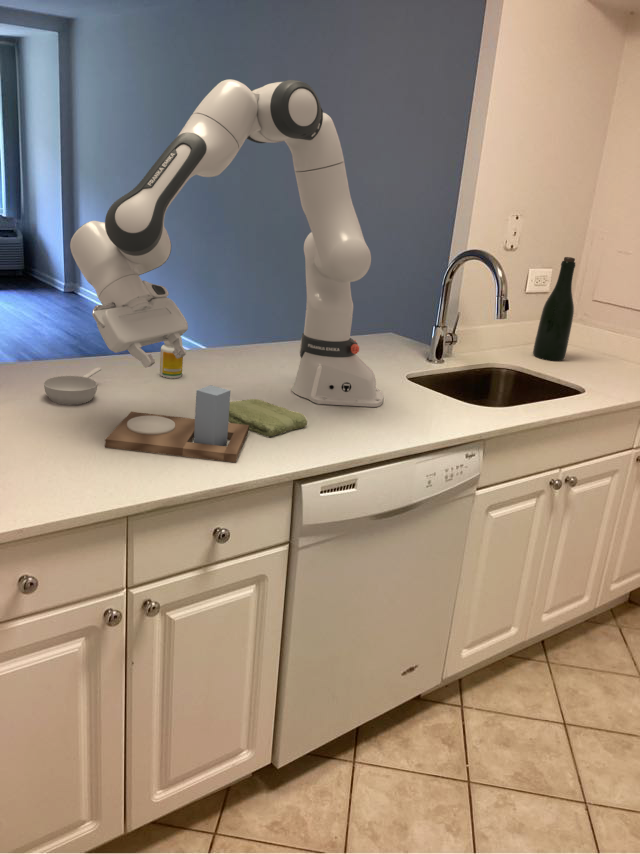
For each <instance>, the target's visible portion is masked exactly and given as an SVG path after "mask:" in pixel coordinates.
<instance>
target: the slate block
mask: <svg viewBox="0 0 640 854" xmlns="http://www.w3.org/2000/svg"><path fill="white" fill-rule="evenodd" d="M195 392H196V393H195V410H194V411H195V412H194V413H195V414H194V419H195V430H194V439H193V443H201V444H209V445H218V446H228V440H227V436H228V423H229V422H228V421H229V406H230V402H231V390H230V389H226V388H223V387H219V386H215V385H213V384H212V385H211V384H210V385H206V386H204V387H202V388H199V389H196V391H195Z"/></svg>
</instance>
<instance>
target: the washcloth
mask: <svg viewBox="0 0 640 854" xmlns="http://www.w3.org/2000/svg"><path fill="white" fill-rule="evenodd" d="M228 423H234V424H243V425H249V431H250V432H254V433H256V434H259V435H261V436H264V437H266V438H267V437H269V438H271V437H275V436H277V435H283V434H285V433H286V432H289V431H295V430H299V429H304V428H305V427H306V426H307V425H308V420H307V417H306V416H305V415H304V414H303V413H301V412H299V411H298V412H297V411H292V410H290V409H288V408H286V407H284V406H283V407H282V406H279V405H275V404H274V403H270V402H267V401H265V400H263V399H258V398H257V399H256V398H250V399H246V400H245V399H244V400H243V399H242V400H235V401H234V400H233V401H230V406H229V421H228Z"/></svg>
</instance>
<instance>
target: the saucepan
mask: <svg viewBox="0 0 640 854" xmlns="http://www.w3.org/2000/svg"><path fill="white" fill-rule="evenodd" d="M100 371H102V367H95V368H94V369H92V370H90V371H88V372H87V373H85V374H84V375H82V376H78V375H61V376H53V377H50V378H47V379H45V380H44V381H43V388H44V392H45V394H46V396H47V397H48V398H49V400H50V401H51V402H53V403H56V404H59V405H71V406H73V405H81V404H82V403H83V404H87V403H89V402H90V400H91V401H92V400H93V398H94V397H95V395H96V393H97V390H98V382H97V381H96V380H95V379H92V378H91V377H92V376H94V375H96V374H97V373H99V372H100ZM88 401H89V402H88ZM86 402H87V403H86Z"/></svg>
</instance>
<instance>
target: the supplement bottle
mask: <svg viewBox="0 0 640 854" xmlns="http://www.w3.org/2000/svg"><path fill="white" fill-rule="evenodd" d="M173 351H174V346H173V344H170V342H169V341H168V340H166V341H163V345H161V347H160V361H159V375H160V377H162V376H163V377H162V378H165V377H166V379H172V378H174V379H179V378H181V377H182V376H183V364H184V362H183V361H184V357H182V358H178V359H177V358H176V357H175V355H174V354H173Z"/></svg>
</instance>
